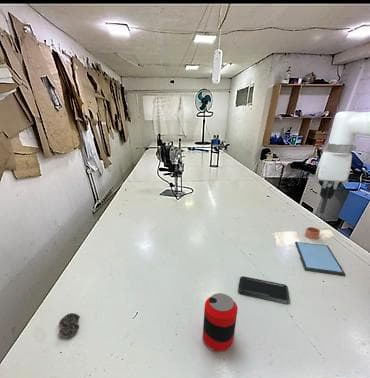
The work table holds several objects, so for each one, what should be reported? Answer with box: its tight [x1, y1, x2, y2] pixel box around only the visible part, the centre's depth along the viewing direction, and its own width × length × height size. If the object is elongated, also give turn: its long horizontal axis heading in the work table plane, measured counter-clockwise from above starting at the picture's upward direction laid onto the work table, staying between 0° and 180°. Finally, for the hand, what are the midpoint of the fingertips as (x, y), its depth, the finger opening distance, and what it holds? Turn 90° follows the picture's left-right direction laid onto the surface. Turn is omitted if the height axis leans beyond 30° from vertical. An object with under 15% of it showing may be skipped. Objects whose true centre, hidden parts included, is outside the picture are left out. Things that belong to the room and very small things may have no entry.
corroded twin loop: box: [58, 312, 81, 339], centre depth 61 cm, size 5×8×1 cm, turn 23°
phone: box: [237, 275, 290, 304], centre depth 75 cm, size 8×1×15 cm
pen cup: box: [304, 226, 321, 241], centre depth 107 cm, size 6×6×4 cm
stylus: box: [319, 182, 332, 214], centre depth 92 cm, size 2×2×12 cm
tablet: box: [294, 241, 346, 277], centre depth 93 cm, size 13×20×1 cm, turn 166°
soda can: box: [202, 292, 239, 352], centre depth 57 cm, size 8×8×12 cm
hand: (325, 197), depth 92 cm, fingers closed on stylus, 1 cm apart
